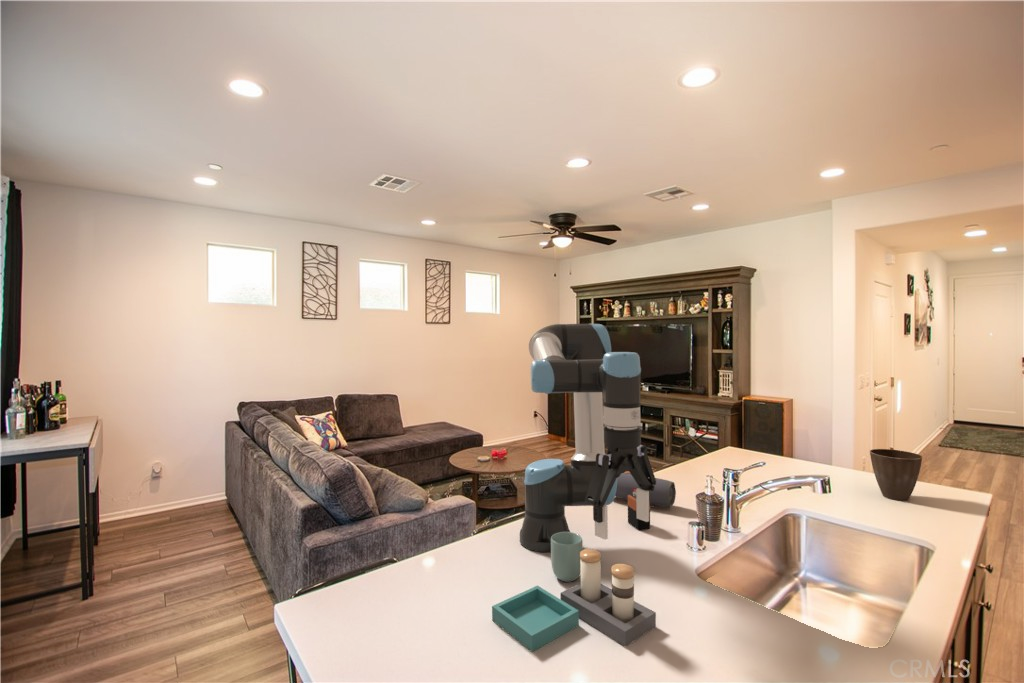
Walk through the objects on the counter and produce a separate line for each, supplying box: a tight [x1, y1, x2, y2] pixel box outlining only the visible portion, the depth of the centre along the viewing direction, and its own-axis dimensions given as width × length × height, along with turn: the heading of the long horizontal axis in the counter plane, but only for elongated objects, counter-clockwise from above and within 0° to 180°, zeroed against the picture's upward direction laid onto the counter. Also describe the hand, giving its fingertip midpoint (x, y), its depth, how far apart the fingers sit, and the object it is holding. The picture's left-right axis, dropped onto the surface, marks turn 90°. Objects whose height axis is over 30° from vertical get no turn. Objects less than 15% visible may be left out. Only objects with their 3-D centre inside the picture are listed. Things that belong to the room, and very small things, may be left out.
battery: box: [627, 492, 651, 531], centre depth 151 cm, size 4×7×10 cm, turn 16°
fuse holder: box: [560, 582, 657, 648], centre depth 103 cm, size 18×10×3 cm, turn 38°
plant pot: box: [869, 448, 923, 501], centre depth 173 cm, size 15×15×16 cm
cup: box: [550, 531, 584, 583], centre depth 120 cm, size 8×8×10 cm
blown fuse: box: [610, 563, 635, 624], centre depth 100 cm, size 5×5×12 cm
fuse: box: [580, 548, 602, 604], centre depth 107 cm, size 5×5×12 cm
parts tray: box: [491, 585, 580, 652], centre depth 101 cm, size 13×13×3 cm
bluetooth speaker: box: [615, 472, 677, 507], centre depth 171 cm, size 23×9×10 cm, turn 55°
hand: (622, 528), depth 99 cm, fingers open, 13 cm apart
